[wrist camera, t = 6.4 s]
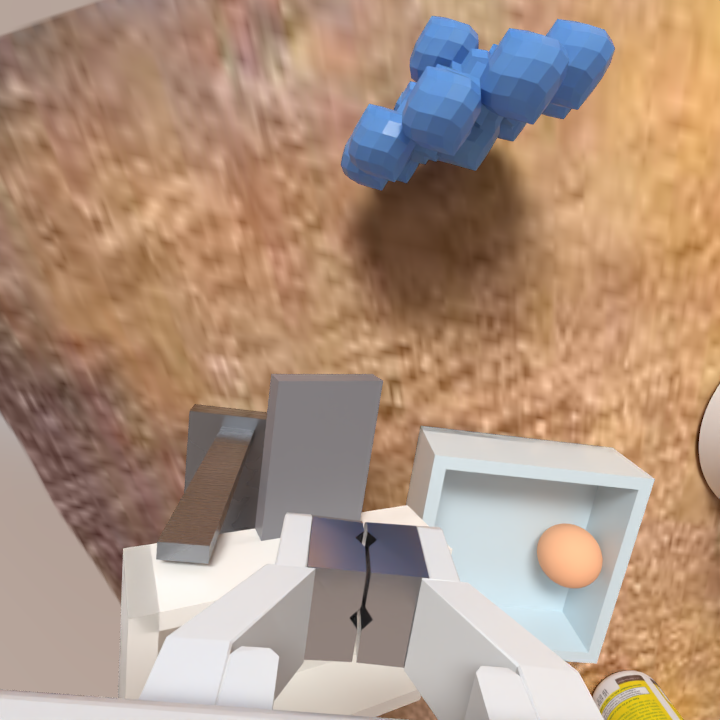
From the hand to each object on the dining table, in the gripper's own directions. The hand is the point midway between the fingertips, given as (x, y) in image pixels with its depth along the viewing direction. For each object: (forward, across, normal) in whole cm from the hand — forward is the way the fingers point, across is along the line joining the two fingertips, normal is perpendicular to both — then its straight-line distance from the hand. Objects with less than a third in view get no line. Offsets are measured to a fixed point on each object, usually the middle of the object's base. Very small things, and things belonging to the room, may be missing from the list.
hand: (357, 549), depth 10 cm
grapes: (+22, -3, -13) cm, 26 cm away
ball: (+19, -16, +12) cm, 28 cm away
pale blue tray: (+22, -12, +12) cm, 28 cm away
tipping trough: (+12, +2, +9) cm, 15 cm away
